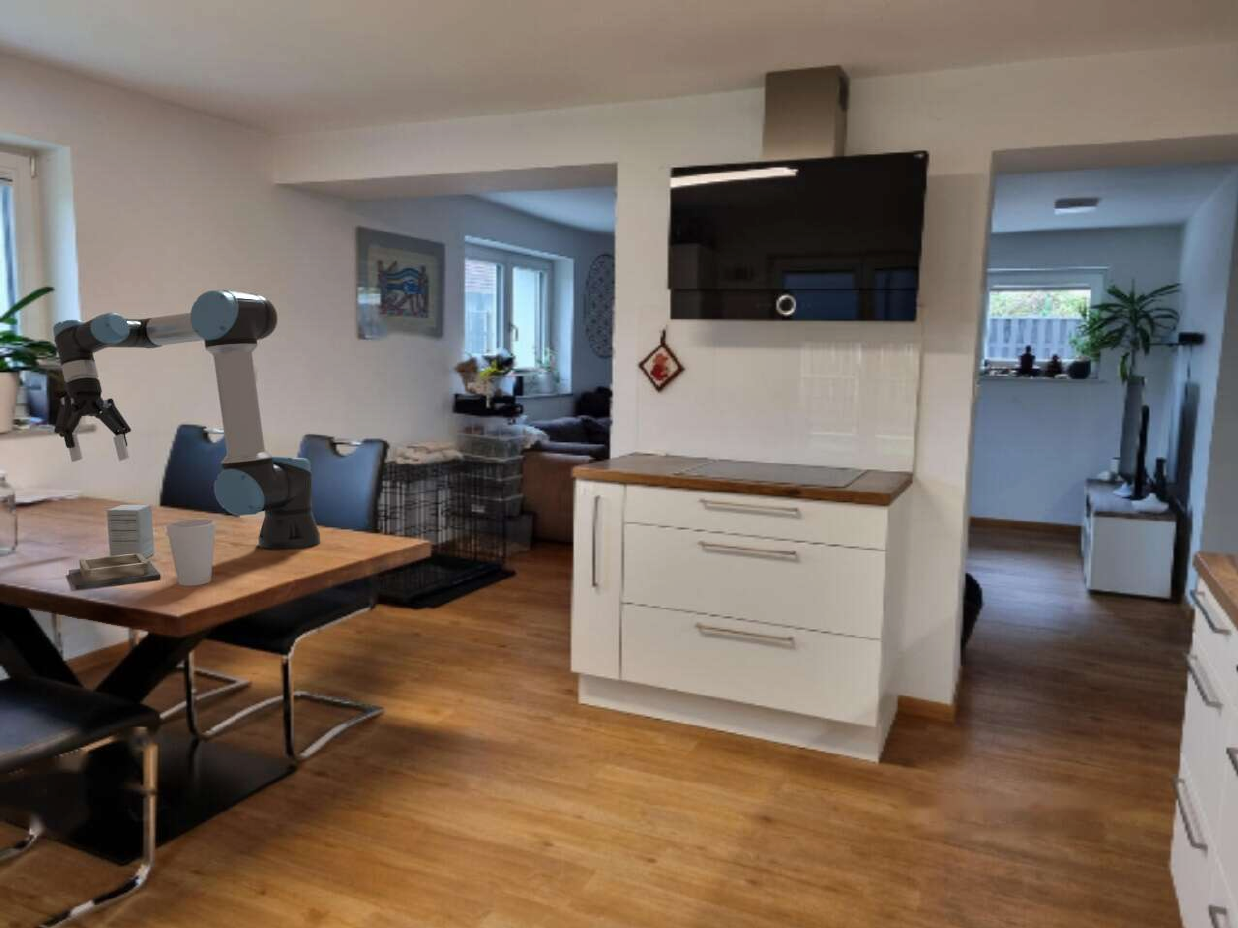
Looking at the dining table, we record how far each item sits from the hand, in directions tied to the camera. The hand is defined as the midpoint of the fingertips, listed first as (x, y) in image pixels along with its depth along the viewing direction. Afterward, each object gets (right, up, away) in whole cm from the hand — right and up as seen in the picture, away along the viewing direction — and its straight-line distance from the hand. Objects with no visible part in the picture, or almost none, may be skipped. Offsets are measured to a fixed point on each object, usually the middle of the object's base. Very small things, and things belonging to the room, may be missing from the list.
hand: (101, 460), depth 221 cm
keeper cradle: (+20, -26, -28) cm, 43 cm away
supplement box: (+14, -24, -10) cm, 30 cm away
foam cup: (+40, -27, -32) cm, 58 cm away
